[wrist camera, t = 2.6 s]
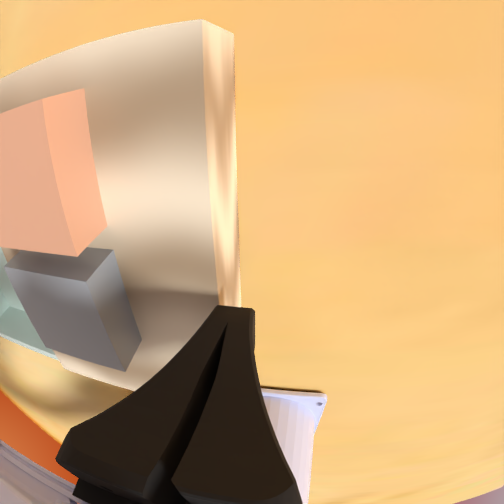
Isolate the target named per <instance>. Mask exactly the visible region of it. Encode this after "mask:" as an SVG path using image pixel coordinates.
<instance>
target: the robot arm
mask: <svg viewBox="0 0 504 504" xmlns="http://www.w3.org/2000/svg"><path fill="white" fill-rule="evenodd" d="M254 348H255V311H254V310H253V309H252V308H243V307H233V306H224V305H217V306H216V307H215V308H214V309H213V310H212V312H211V313H210V315H209V316H208V317H207V319H206V320H205V321H204V323H203V324H202V325H201V326H200V328H199V329H198V330H197V331H196V333H195V334H194V335H193V336H192V337H191V338H190V340H189V341H188V342H187V343H186V344H185V345H184V346H183V348H182V349H181V350H180V351H179V352H178V353H177V354H176V355H175V356H174V357H173V358H172V359H171V360H170V361H169V362H168V363H167V364H166V365H165V366H164V367H163V368H162V369H161V370H160V371H159V372H158V373H156V374H155V375H154V376H153V377H152V378H151V379H149V380H148V381H147V382H146V383H145V384H143V385H142V386H141V387H139V388H138V389H137V390H136V391H134V392H133V393H132V394H130V395H129V396H127V397H126V398H124V399H123V400H121V401H120V402H118V403H117V404H115V405H113V406H112V407H110V408H109V409H107V410H105V411H104V412H102V413H100V414H98V415H97V416H95V417H93V418H91V419H89V420H87V421H85V422H83V423H81V424H79V425H76V426H74V427H72V428H71V429H70V431H69V432H68V434H67V435H66V437H65V439H64V441H63V443H62V445H61V448H60V450H59V452H58V454H57V456H56V458H55V459H56V461H57V462H58V464H60V465H61V466H62V467H64V468H65V469H66V470H68V471H69V472H71V473H72V474H73V475H75V476H77V477H78V478H79V479H78V481H77V484H76V485H74V484H72V483H70V482H68V481H66V480H64V479H63V478H61V477H59V476H57V475H55V474H53V473H52V472H50V471H48V470H46V469H45V468H43V467H41V466H39V465H38V464H36V463H35V462H33V461H31V460H30V459H28V458H27V457H25V456H23V455H22V454H20V453H19V452H17V451H16V450H14V449H13V448H11V447H10V446H9V445H7V444H6V443H4V442H3V441H1V440H0V504H77V502H78V503H80V504H308V498H309V488H310V477H311V466H312V453H313V438H314V433H315V431H316V428H317V426H318V423H319V421H320V418H321V415H322V413H323V410H324V407H325V405H326V402H327V395H326V394H324V393H311V392H297V391H285V390H274V389H264V388H261V387H260V383H259V378H258V373H257V368H256V362H255V355H254ZM75 501H76V502H75Z"/></svg>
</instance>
